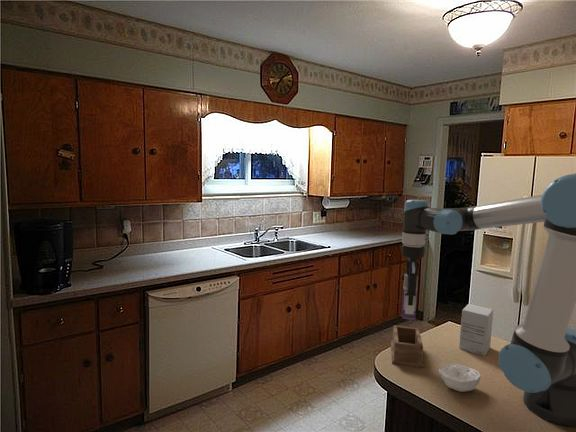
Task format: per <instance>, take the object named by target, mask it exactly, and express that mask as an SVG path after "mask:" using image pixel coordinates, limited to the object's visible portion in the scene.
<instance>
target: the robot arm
mask: <svg viewBox="0 0 576 432" xmlns="http://www.w3.org/2000/svg"><path fill="white" fill-rule="evenodd" d="M402 222H403V224H402V225H403V226H402V235H401V243H402V245H401V251H400V255H401V256H402V257H405V258H407V259H406V260H405V274H407V275H408V286H407V294H405V295H406V308H405V314H414V302H415V296H416V282H417V275H418V271H419V264H420V263H419V261H417V259H423V258H425V251H426V247H425V245H426V240H427V239H428V236H427V232H428V231H430V232H434V233H439V234H442V235H452V236H453V235H456V234H457V233H458V232H463V231H465V232H466V231H470V232H471V231H476V230H482V229H490V228H500V227H509V226H511V227H512V226H518V225H519V226H520V225H528V224H529V225H530V224H538V223H543V226H542V227H543V228H544V230H545V231H546V233H548V237H547V241H546V244H545V247H544V251H543V254H542V257H541V261H540V264H539V265H540V266H539V268H538V271H537V275H536V280H535V281H534V286H533V290H532V293H531V297H530V300H529V304H528V307H527V311H526V314H525V316H524V317H525V318H524V321H523V323H521V324H518V325H516V326H515V328H514V331H513V334H512V338H511V341H510V343H508V344H505V345H504V347H502V348H501V349H500V351H499V353H498V364H499V369H500V370H501V371H502V373H503V374H504V377H505V378H506V380H508V381H509V383H511V385H513V386H514V387H516V388H518V389H519V390H521V391H523V403H524V405H525V406H526V407H527V409H529V411H531V412H532V413H534V414H535V415H537V416H538V417H540V418H542V419H545V420H546V421H549V422H551V423H554V424H557V425H560V426H565V427H571V428H576V329H575V328H571V327H569V325H570V322H571V319H572V318H571V317H573V316H572V315H573V312H574V308H575V305H576V173H575V172H574V173H571V174H570V173H569V174H566V175H562V176H560V177H557V178H556V179H554V180H553V181H552V182H550V184H548V186H547V187H546V188H545V190H543V192H542V194H538V195H533V196H526V197H521V198H520V197H519V198H516V199H508V200H504V201H496V202H491V203H487V204H485V203H484V204H481V205H475V206H469V207H468V206H467V207H460V208H459V207H457V208H456V207H455V208H438V207H437V208H436V207H429V202H428V201H427V200H425V199H424V200H423V199H407V200H406V201H405V203H404V209H403V221H402Z"/></svg>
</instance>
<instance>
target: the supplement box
mask: <svg viewBox="0 0 576 432" xmlns="http://www.w3.org/2000/svg"><path fill="white" fill-rule="evenodd" d="M493 316H494V308H489V307H485V306H484V307H483V306H481V305H480V306H479V305H476V304H471V303H468V304H466V306H465V307H464V308H463V309H462V310H461V319H460V322H461V323H460V330H459V331H460V332H459V343H458V344H459V345H458V346H459V347H458V349H460V350H463V351H467V352H470V353H474V354H477V355H480V356H483V357H485V356H486V355H487V353H488V352H489V350H490V348H491V343H492V342H491V341H492V340H491V339H492V330H493V319H494V317H493Z"/></svg>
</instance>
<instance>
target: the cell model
mask: <svg viewBox="0 0 576 432" xmlns="http://www.w3.org/2000/svg"><path fill="white" fill-rule="evenodd" d="M438 372H439V375H440V376H441V378H442V380H443V381H444V383H445V385H446V387H448V388H449V389H452V390H455V391H457V392H461V393H463V392H470V391H472V390H474V389H475V388H476V387H477V386H478V385H480V382H481V378H482V377H481V376H482V374H481V373H480V372H479V371H478V370H476V369H474V368H471V367H469V366H465V365H463V364H457V363H448V364H445V365H442V366H440V367H439V368H438Z"/></svg>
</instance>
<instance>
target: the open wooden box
mask: <svg viewBox="0 0 576 432" xmlns="http://www.w3.org/2000/svg"><path fill="white" fill-rule="evenodd" d="M392 328H393V329H392V339H390V348H391V350H390V351H391V364H393V365H401V366H407V367H408V366H409V367H415V368H420V369H421V368H422V369H423V368H424V366H425V365H424V360H423V353H424V352H423V351H424V345H423V341H422V337H421V333H420V332H421V331H420V330H419V329H420V328H418V327H410V326H404V325H396V324H395V325H393V327H392Z"/></svg>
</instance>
